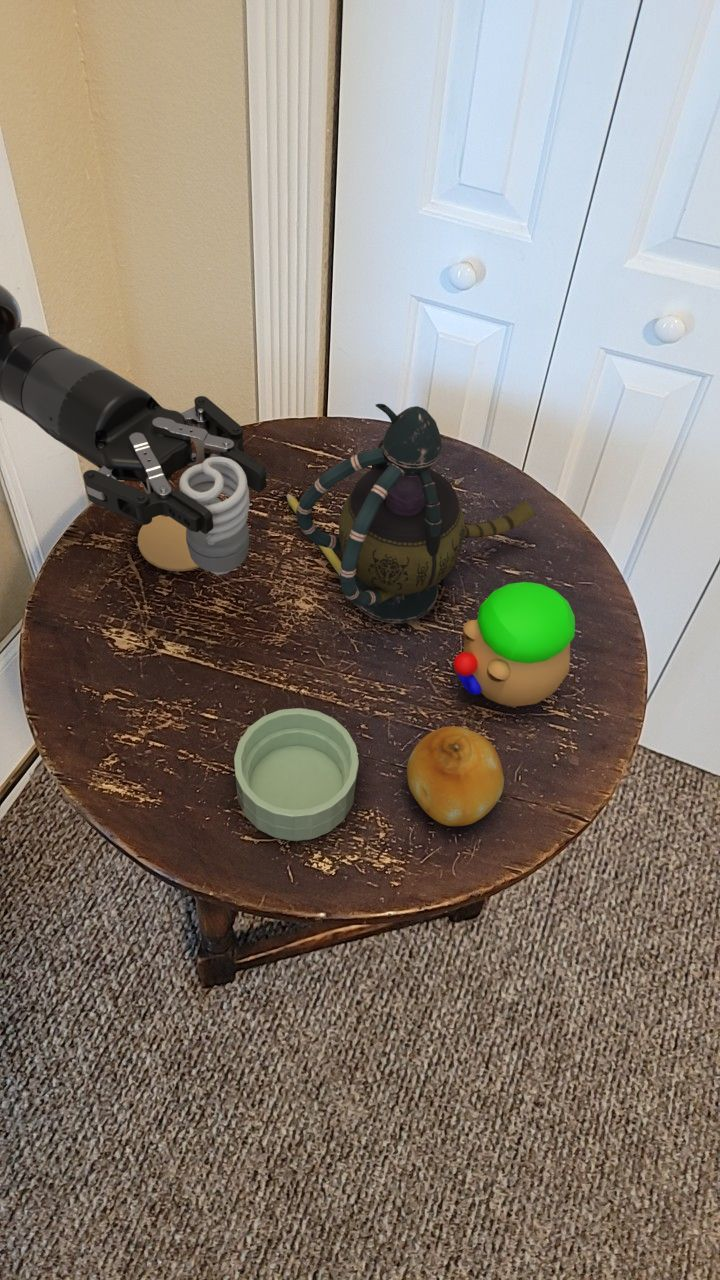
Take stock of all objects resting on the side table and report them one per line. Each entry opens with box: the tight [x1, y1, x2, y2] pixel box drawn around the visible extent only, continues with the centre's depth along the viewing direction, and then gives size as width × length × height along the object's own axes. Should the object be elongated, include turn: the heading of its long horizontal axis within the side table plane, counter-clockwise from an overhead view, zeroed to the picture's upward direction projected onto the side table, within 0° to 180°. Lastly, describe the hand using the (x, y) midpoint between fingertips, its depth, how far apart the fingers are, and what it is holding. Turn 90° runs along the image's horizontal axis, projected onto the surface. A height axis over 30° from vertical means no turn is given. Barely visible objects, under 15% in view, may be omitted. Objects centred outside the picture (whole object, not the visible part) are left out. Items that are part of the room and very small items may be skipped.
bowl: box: [233, 707, 360, 842], centre depth 79 cm, size 10×10×5 cm
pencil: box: [284, 491, 342, 577], centre depth 99 cm, size 1×14×1 cm, turn 29°
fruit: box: [406, 725, 505, 827], centre depth 79 cm, size 8×8×8 cm
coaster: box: [137, 515, 201, 572], centre depth 98 cm, size 9×9×1 cm
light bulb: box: [178, 457, 251, 576], centre depth 78 cm, size 6×6×12 cm
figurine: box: [453, 581, 576, 708], centre depth 84 cm, size 11×10×12 cm
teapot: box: [295, 403, 538, 624], centre depth 87 cm, size 12×25×23 cm, turn 118°
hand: (236, 502), depth 74 cm, fingers closed on light bulb, 5 cm apart
